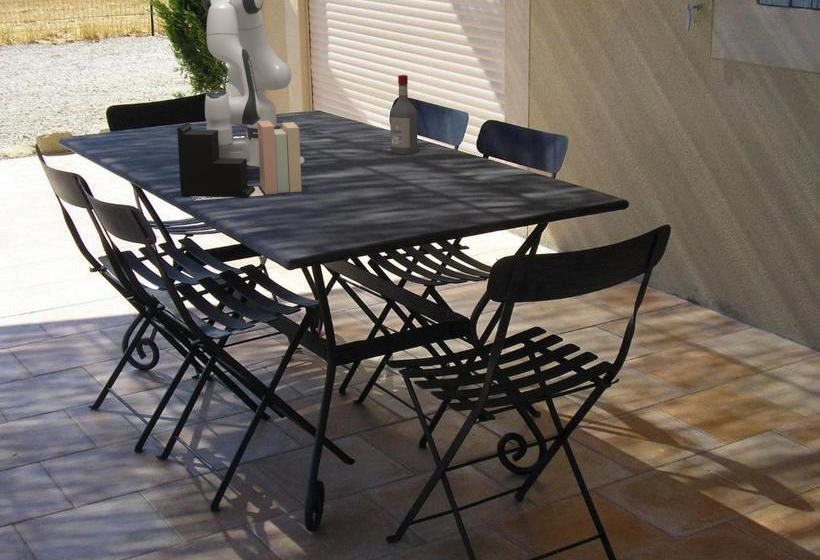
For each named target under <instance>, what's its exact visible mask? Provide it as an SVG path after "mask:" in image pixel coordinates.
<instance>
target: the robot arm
mask: <svg viewBox="0 0 820 560" xmlns="http://www.w3.org/2000/svg"><path fill="white" fill-rule="evenodd" d="M201 3H202V7H203V9H204V11H205V12H206V13H207V18H206V45H207V49H208V51H209V53H210V54H211V55H212V56H213V58H215V59H217V60H219V61H220V62H221V61H222V62H224V63H227V64H228V65H229V66H228V69H227V79H228V81H229V83H230V84H231V85H232V86H233V87H235V89H236V90H237V92H238V93H239V94H240V96H236V95H235V96H229V93H228V92H227V91H226V90H223V89H214V90H210V91H208V92H207V93H206V94H205V100H204V115H205V116H204V117H205V121H206V129H205V130H218V144H219V158H243V159H247V166H250V167H257V168H258V167H259V168H260V165H259V145H258V126H257V121H270V122H271V123H272V124H273V125H274V129H282V126H279V125H277V108H276V105H275V102H273V100H272V99H271V100H270V99H269V98H268V96H267V95H266V93H265V92H264V91H265V90H266V91H277V90H278V91H279V90H283V89H286V88H287V87H288V86H289V85H290V83H291V80H292V71H291V68H290V66H289V64H287V63H286V62H285V61H283V60H282V58H280V57H279V56H278V55H277V53H276V52H275V51H274V49H273V48H272V46H271V44H270V41H269V38H268V35H267V29H266V26H265V21H264V16H263V13H262V10H261V9H262V7H263V5H264V0H201ZM232 125H245V126H246V127H245V129H246V130H245V135H241V136H233V127H232ZM304 163H305V158H304V157H303V156H302V155H300V164H301V165H302V164H304Z"/></svg>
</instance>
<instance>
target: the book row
mask: <svg viewBox="0 0 820 560" xmlns="http://www.w3.org/2000/svg"><path fill="white" fill-rule="evenodd" d="M257 126H258V145H259V165H260V167H259V179H260V180H259V181H260V188H261V191H263V193H264V195H271V194H272V195H273V194H274V195H275V194H281V193H299V192H300V193H301V192H302V191H303V189H302V169H301V166H302V164H300V156H301V144H300V143H301V141H300V140H301V139H300V127H299V126H298V125H297V124H296V123H295V122H282V123H281V127H282V129H274V125H273V124H272V123H271V122H270V121H257Z"/></svg>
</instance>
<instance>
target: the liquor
mask: <svg viewBox="0 0 820 560" xmlns="http://www.w3.org/2000/svg"><path fill="white" fill-rule="evenodd" d="M397 78H398V79H397V83H398V98H397V101H396V102H395V104H393V106H392V107H391V108H390V112H389V121H390V122H389V124H390V125H389V126H390V127H389V128H390V129H389V130H390V132H389V133H390V151H391V153H392V154H394V155H395V154H396V155H403V156H404V155H412V154H414V153H415V154H416V153H418V150H419V149H418V111H417V109H416V107H415V106H414V105H413V104H412V103H411V101H410V100H409V97H408V96H409V95H408V93H409V92H408V89H409V88H408V83H409V82H408V81H409V79H408V78H409V77H408V75H406V74H399V75H397Z"/></svg>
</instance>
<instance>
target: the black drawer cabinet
mask: <svg viewBox="0 0 820 560" xmlns="http://www.w3.org/2000/svg"><path fill="white" fill-rule="evenodd" d="M176 132H177V146H178V147H177V148H178V165H179V167H178V168H179V183H180V195H181V196H185V197H186V196H190V197H191V196H227V197H235V198H248V197H250V196H249V195H251V194H252V193H253V192H254V191H255V188H254V187H255V186H253V185H248V167H247V166H248V165H247V159H243V158H219V144H218V130H206V129H192V124H191V123H190V122H185V123H183V124H182V125H180V126H178V127H176Z"/></svg>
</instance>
